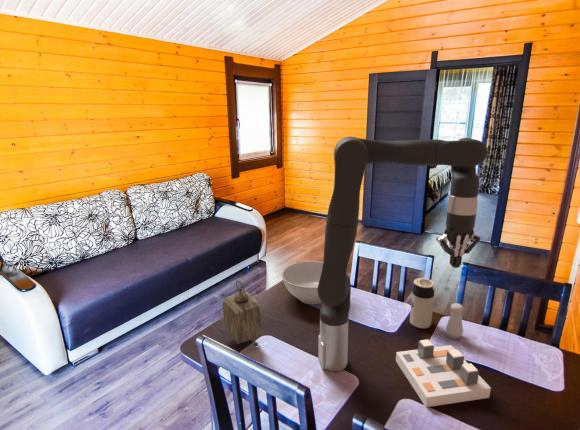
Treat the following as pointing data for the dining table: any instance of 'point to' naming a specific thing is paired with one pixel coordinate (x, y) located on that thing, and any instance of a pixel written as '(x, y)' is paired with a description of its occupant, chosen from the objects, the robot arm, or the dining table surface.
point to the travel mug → (422, 303)
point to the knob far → (425, 349)
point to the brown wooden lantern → (242, 316)
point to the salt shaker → (455, 321)
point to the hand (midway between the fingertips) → (455, 266)
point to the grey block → (469, 374)
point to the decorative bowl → (303, 280)
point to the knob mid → (454, 359)
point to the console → (438, 378)
